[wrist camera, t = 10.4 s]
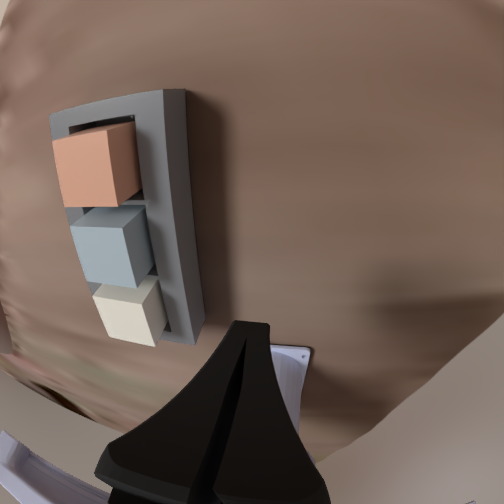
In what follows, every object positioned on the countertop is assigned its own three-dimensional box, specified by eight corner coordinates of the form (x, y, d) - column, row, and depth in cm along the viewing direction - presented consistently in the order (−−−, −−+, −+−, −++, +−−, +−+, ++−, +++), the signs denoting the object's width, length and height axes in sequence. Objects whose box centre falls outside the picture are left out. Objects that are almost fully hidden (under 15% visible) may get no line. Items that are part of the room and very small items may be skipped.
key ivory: (171, 314, 23) (155, 346, 20) (128, 307, 24) (109, 336, 21) (162, 272, 21) (141, 304, 18) (115, 267, 22) (92, 295, 18)
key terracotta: (147, 184, 18) (117, 206, 14) (97, 186, 18) (64, 207, 15) (140, 120, 15) (106, 130, 12) (88, 128, 16) (52, 140, 13)
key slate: (159, 257, 20) (137, 288, 17) (112, 253, 21) (87, 281, 18) (149, 203, 18) (122, 228, 15) (100, 203, 19) (69, 226, 16)
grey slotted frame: (205, 317, 25) (195, 345, 23) (121, 304, 27) (105, 328, 24) (184, 88, 16) (162, 89, 13) (79, 107, 17) (49, 114, 14)
